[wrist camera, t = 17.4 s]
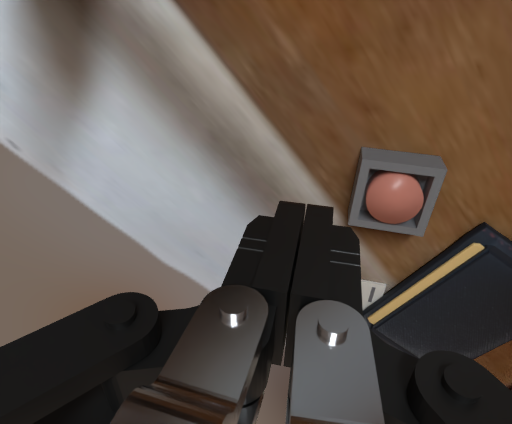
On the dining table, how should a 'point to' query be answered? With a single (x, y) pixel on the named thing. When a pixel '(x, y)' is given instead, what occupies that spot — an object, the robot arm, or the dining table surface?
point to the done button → (393, 196)
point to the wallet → (451, 300)
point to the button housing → (373, 160)
